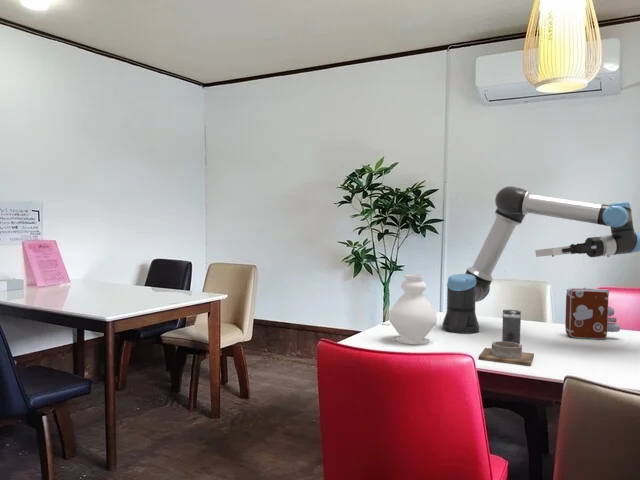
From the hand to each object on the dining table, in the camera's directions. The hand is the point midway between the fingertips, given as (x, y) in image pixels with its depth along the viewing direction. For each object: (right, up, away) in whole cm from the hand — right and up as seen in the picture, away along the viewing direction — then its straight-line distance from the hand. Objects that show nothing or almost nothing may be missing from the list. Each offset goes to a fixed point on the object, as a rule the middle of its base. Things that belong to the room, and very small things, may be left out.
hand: (543, 252), depth 192 cm
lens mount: (-22, -35, -21) cm, 46 cm away
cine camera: (+26, -35, +14) cm, 46 cm away
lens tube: (-16, -35, -9) cm, 39 cm away
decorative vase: (-49, -34, +3) cm, 60 cm away
